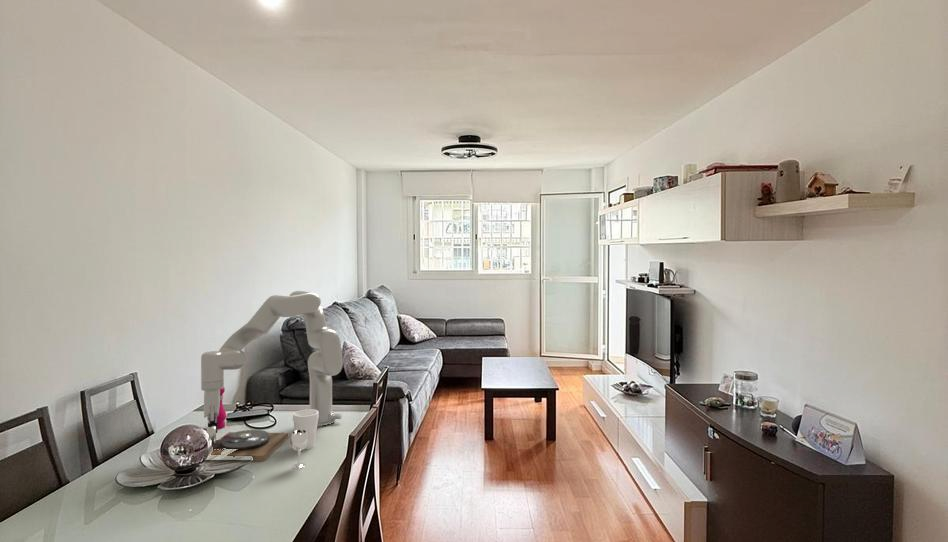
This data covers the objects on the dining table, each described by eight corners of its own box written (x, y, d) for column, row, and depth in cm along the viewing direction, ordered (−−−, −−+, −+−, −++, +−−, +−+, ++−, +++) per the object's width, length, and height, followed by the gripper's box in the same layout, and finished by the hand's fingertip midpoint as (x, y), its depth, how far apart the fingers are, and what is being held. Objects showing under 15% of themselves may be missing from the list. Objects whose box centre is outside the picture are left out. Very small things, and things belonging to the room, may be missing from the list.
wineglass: (286, 467, 177) (286, 433, 177) (299, 461, 182) (299, 428, 182) (298, 470, 174) (298, 435, 174) (311, 464, 180) (311, 430, 179)
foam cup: (287, 449, 194) (287, 415, 194) (301, 441, 203) (301, 408, 203) (310, 451, 192) (310, 417, 191) (323, 443, 201) (323, 410, 200)
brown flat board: (288, 437, 206) (288, 432, 206) (263, 461, 182) (263, 455, 182) (224, 437, 206) (224, 431, 206) (191, 460, 182) (191, 454, 182)
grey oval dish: (267, 431, 206) (267, 414, 206) (271, 445, 191) (271, 426, 190) (207, 439, 196) (207, 421, 196) (206, 454, 181) (206, 434, 181)
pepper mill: (220, 430, 215) (221, 382, 214) (203, 429, 215) (203, 382, 215) (229, 424, 222) (229, 378, 222) (213, 424, 222) (213, 378, 222)
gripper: (201, 381, 197) (202, 428, 198) (200, 390, 184) (200, 441, 184) (223, 379, 201) (223, 425, 201) (223, 388, 187) (223, 438, 188)
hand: (212, 433), depth 193 cm, fingers closed
